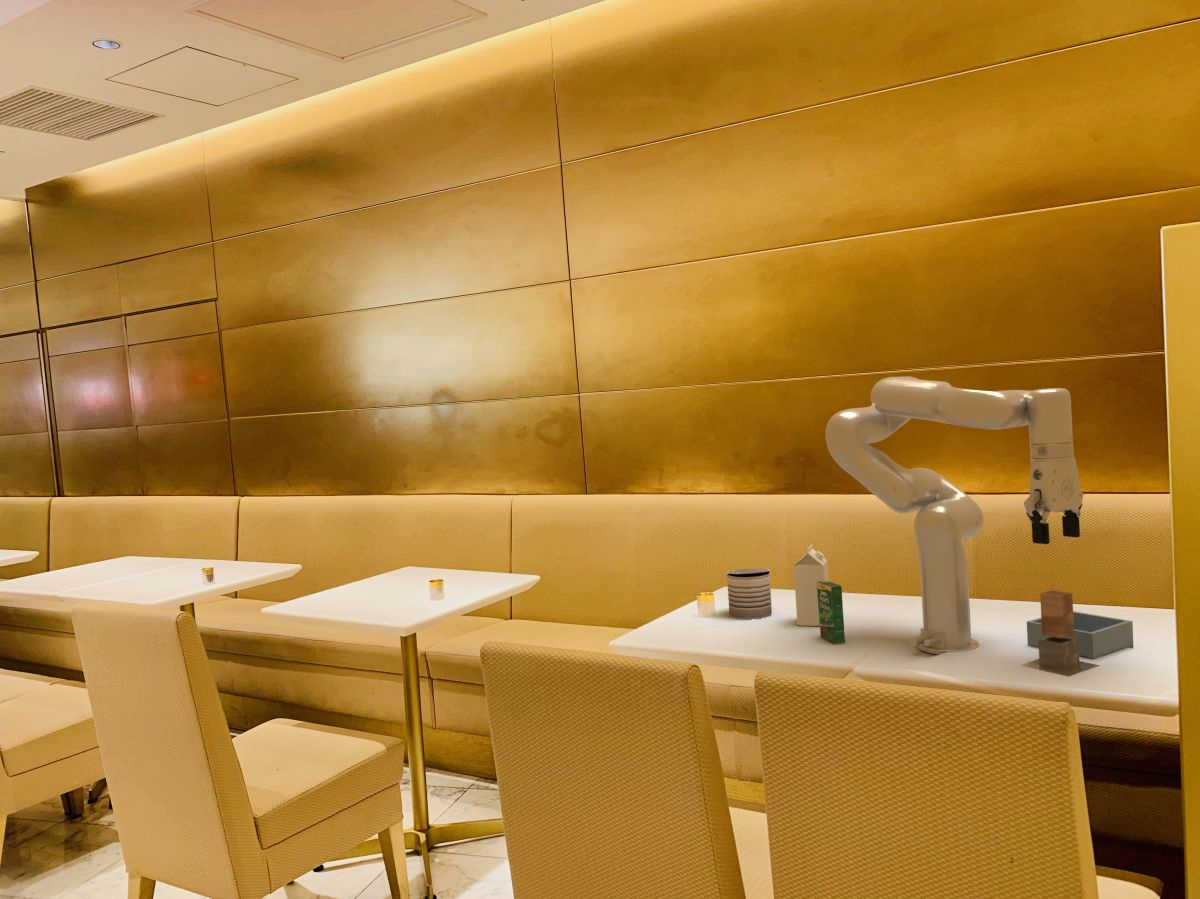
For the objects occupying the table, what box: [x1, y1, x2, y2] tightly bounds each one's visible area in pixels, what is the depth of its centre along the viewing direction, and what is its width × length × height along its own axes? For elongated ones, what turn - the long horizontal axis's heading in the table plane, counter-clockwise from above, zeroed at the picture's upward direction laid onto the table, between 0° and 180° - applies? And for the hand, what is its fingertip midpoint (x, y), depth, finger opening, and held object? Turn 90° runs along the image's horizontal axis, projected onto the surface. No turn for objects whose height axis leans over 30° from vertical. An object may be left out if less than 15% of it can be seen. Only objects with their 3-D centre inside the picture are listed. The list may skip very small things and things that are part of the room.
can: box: [725, 568, 773, 621], centre depth 235 cm, size 11×11×12 cm
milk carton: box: [793, 544, 829, 627], centre depth 222 cm, size 7×7×19 cm
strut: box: [1038, 589, 1080, 671], centre depth 174 cm, size 5×5×14 cm
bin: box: [1026, 610, 1134, 660], centre depth 186 cm, size 14×14×6 cm
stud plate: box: [1020, 658, 1101, 678], centre depth 174 cm, size 10×10×5 cm
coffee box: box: [817, 580, 846, 645], centre depth 206 cm, size 8×3×13 cm, turn 10°
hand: (1056, 540), depth 175 cm, fingers open, 9 cm apart
